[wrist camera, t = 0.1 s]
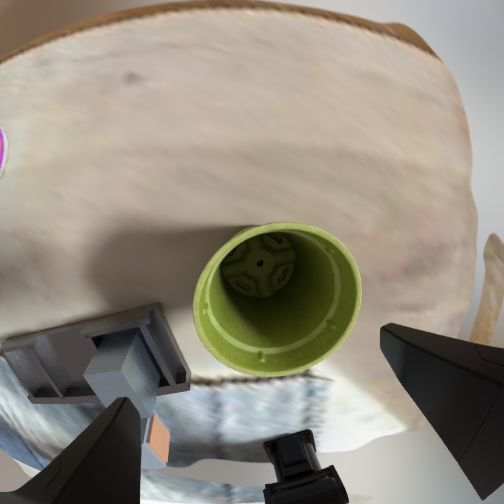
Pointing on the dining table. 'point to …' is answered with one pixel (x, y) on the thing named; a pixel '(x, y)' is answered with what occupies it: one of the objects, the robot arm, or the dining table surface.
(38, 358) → the rail
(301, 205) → the dining table surface
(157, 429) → the block
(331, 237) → the plant pot
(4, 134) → the supplement bottle
